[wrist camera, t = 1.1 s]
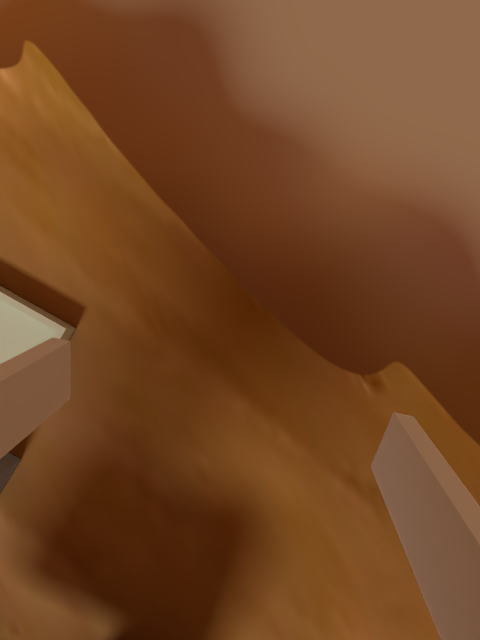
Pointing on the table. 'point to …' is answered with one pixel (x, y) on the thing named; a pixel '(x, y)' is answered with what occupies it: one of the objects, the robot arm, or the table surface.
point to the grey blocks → (7, 468)
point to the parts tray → (26, 325)
